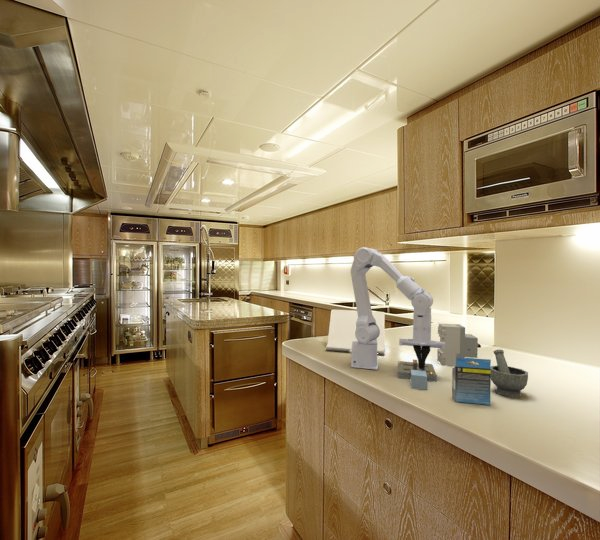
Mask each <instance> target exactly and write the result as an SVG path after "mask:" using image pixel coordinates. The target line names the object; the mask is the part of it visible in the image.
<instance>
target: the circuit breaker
mask: <svg viewBox="0 0 600 540" xmlns="http://www.w3.org/2000/svg"><path fill="white" fill-rule="evenodd" d="M437 334H438V337H439V342H445V349H441V348H437V359H436V360H437V362H438V361H439V362H440V363H439V362H438V363H439V364H440V365H441V366H445V365H448V366H447V367H455V366H456V357H462V358H476V359H478V348H479V349H480V348H482V345H481V344H480V343H479V342H478V341H479V340H478V337H477V336H474V335H473V334H472V333H471V334H470V333H466V327H465V326H463V325H462V324H460V323H442V322H441V323H438V327H437Z"/></svg>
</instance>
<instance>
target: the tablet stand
mask: <svg viewBox="0 0 600 540" xmlns="http://www.w3.org/2000/svg"><path fill="white" fill-rule="evenodd" d="M372 315H373V317H374V318H375V320H376V324H377V325H378V327H379V329H380V335H379V336H378V338H377V353H380V354H379V355H383V354H384V355H385V328H386V327H385V322H386V321H385V320H386V319H385V311H374V310H372ZM357 319H358V313H357V310H353V309H352V310H350V309H348V310H347V309H331V311H330V319H329V328H328V336H327V344H325V350H326V351H333V352H334V351H336V352H345V351H348V352H347V353H351V352H352V342H353V341H358V340H357V338H356V336H355V331H356V321H357Z"/></svg>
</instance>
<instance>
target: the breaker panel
mask: <svg viewBox="0 0 600 540" xmlns="http://www.w3.org/2000/svg"><path fill="white" fill-rule="evenodd" d="M411 370H413V361H412V362H411V361H404V360H403V361H401V360H397V378H398V377H399V378H398V379H405V378H408V380H411ZM417 370H420V371H426V374H427V382H433V381H435V382H434V383H437V382H438V375H437V373H436V371H435V370H436V369H435V367H434V365H433V364H432V363H425V366H424V368H423V369H419V363H418V362H417Z"/></svg>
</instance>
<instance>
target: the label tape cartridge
mask: <svg viewBox="0 0 600 540" xmlns="http://www.w3.org/2000/svg"><path fill="white" fill-rule="evenodd" d="M491 361H492V360H491V359H487V358H470V357H465V358H462V357H456V366H453V367H452V371H451V373H452V374H451V381H452V382H451V398H452V399H453V401H454V400H455V401H454V402H456V403H465V404H477V405H478V404H479V405H486V406H491V396H492V395H491V392H492V391H491V390H492V389H491V385H492V384H491V381H492V380H491V369H490V367H491V366H492V365H491ZM472 362H473V363H475V364H469V363H472ZM476 363H477V364H476Z"/></svg>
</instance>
